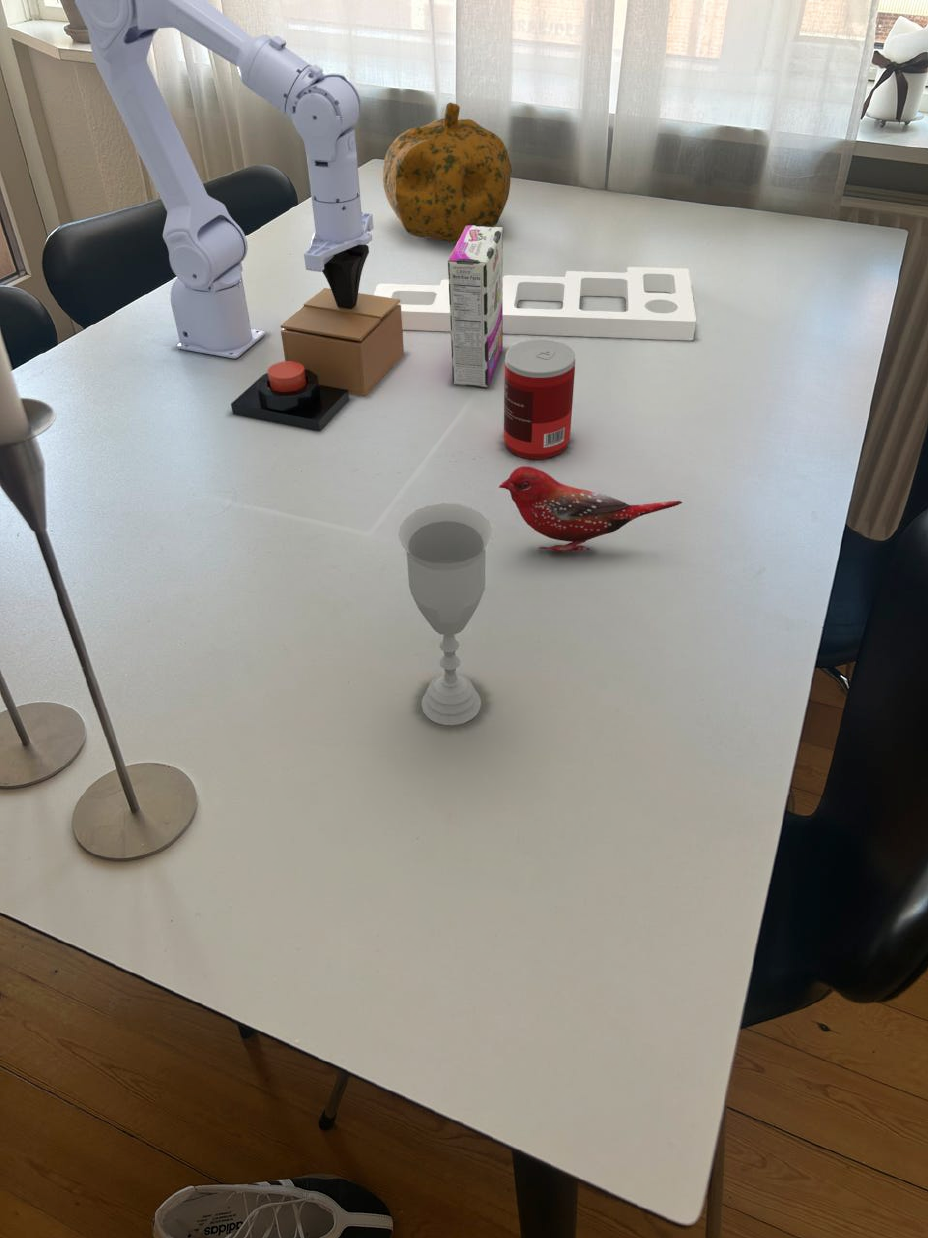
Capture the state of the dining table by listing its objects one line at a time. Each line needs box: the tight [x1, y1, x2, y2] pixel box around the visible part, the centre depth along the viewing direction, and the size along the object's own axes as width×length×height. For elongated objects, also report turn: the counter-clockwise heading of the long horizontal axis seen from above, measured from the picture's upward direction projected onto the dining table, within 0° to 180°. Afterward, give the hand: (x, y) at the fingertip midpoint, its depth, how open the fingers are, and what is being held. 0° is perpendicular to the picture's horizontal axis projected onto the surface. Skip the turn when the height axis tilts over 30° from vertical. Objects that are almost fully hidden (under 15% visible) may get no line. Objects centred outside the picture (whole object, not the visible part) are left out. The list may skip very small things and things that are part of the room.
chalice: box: [398, 502, 493, 726], centre depth 76 cm, size 7×7×18 cm
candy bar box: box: [447, 225, 504, 388], centre depth 121 cm, size 11×5×16 cm, turn 168°
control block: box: [230, 369, 350, 432], centre depth 118 cm, size 12×8×4 cm, turn 69°
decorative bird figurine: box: [498, 465, 683, 553], centre depth 94 cm, size 3×18×10 cm, turn 88°
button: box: [267, 360, 306, 392], centre depth 117 cm, size 4×4×2 cm
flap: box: [303, 287, 400, 319], centre depth 124 cm, size 6×11×1 cm, turn 69°
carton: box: [280, 305, 405, 397], centre depth 124 cm, size 12×11×8 cm
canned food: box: [503, 339, 576, 460], centre depth 109 cm, size 8×8×11 cm
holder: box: [372, 266, 697, 342], centre depth 139 cm, size 45×18×3 cm, turn 83°
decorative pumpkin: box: [382, 101, 513, 243], centre depth 156 cm, size 20×21×20 cm
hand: (346, 305), depth 123 cm, fingers closed, pressing on flap
